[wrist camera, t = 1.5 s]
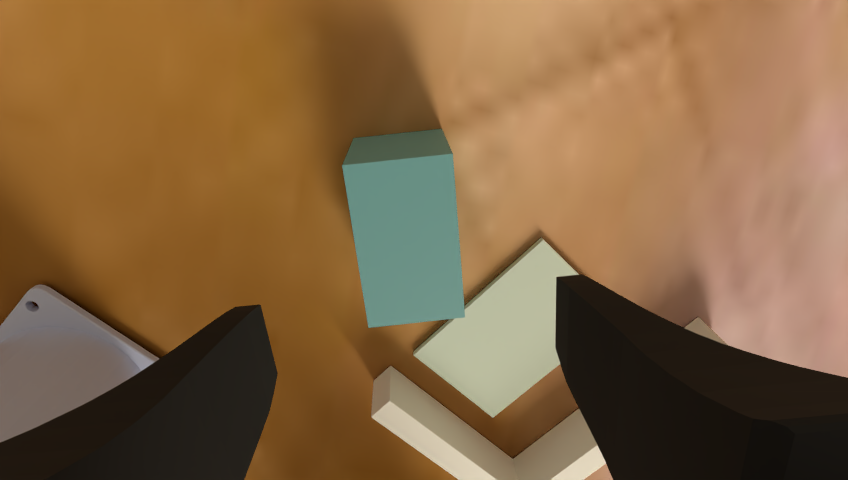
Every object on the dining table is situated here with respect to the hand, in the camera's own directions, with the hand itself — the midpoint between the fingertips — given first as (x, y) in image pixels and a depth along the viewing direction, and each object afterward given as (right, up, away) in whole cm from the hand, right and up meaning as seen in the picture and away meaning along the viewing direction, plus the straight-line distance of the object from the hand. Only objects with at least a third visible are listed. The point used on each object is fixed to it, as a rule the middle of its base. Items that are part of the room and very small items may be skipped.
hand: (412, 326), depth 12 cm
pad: (+5, -2, +11) cm, 12 cm away
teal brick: (0, +4, +9) cm, 10 cm away
